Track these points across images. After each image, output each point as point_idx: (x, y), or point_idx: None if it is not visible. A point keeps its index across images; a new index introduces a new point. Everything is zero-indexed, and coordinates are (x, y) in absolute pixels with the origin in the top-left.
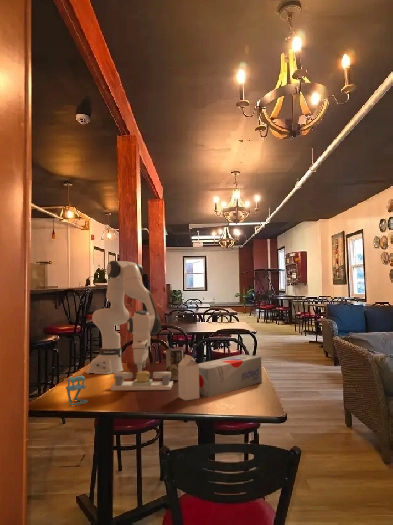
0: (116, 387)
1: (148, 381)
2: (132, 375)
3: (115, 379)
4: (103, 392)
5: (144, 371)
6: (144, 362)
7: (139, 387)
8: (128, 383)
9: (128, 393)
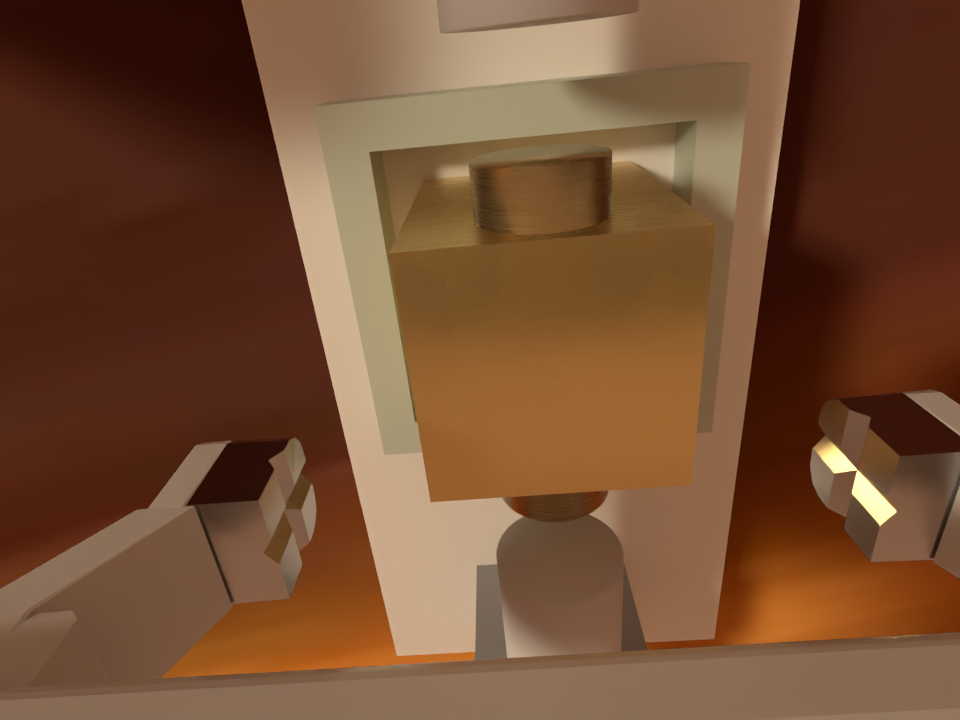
0: (719, 579)
1: (384, 192)
2: (504, 543)
3: None
4: (787, 641)
5: (457, 355)
6: (139, 575)
7: (760, 266)
8: (495, 500)
9: (921, 364)
